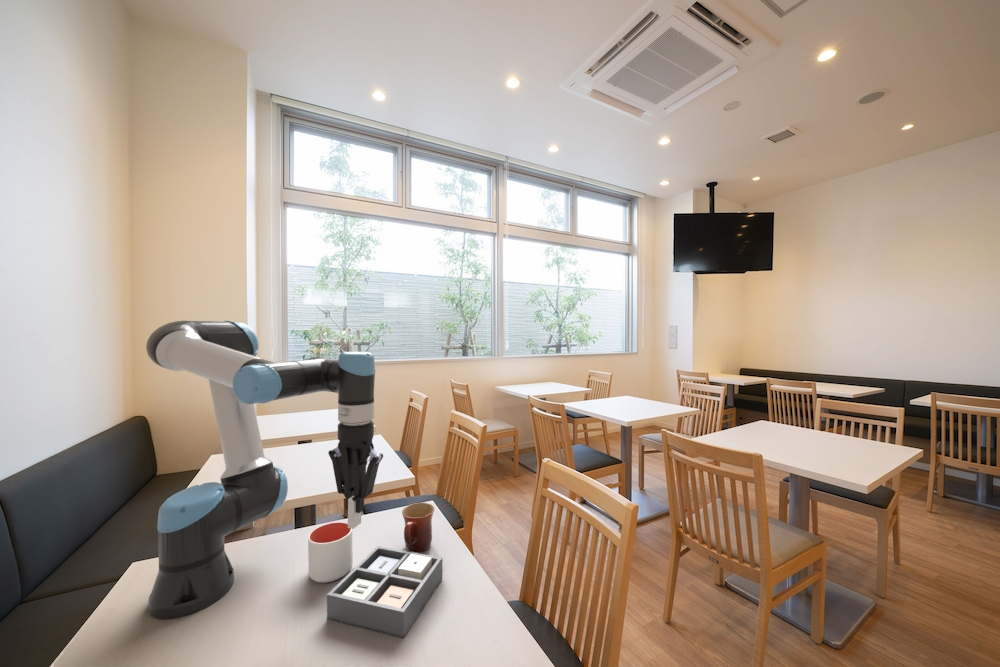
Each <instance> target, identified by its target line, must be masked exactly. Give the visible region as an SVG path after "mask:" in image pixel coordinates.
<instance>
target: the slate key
mask: <svg viewBox="0 0 1000 667" xmlns="http://www.w3.org/2000/svg"><path fill="white" fill-rule="evenodd" d="M399 561H400V560H399V559H393V558H388V557H383V556H379V557H378V558H377V559H376V560H375V561H374V562H373V563H372V564H371V565H370V566H369V567H368V568H367V569H369V570H374V571H379V572H384V573H389V572H390V571H391V570H392V569H393V567H394V566H395V565H396V564H397V563H398V562H399Z"/></svg>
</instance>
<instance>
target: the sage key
mask: <svg viewBox="0 0 1000 667" xmlns="http://www.w3.org/2000/svg"><path fill="white" fill-rule="evenodd" d="M378 584H379V583H378V582H373V581H368V580H363V579H359V578H358V579H357V580H356V581H355V582H354V583H353V584H352V585H351V586H350V587H349V588H348V589H347V590H346V591H345V592H344V593H343V594H342V595H345V596H349V597H354V598H358V599H363V600H365V599H366V598H367V597H368V596H369V595H370V593H371V592H372V591H373V590H374V589H375V588H376V587H377V586H378Z"/></svg>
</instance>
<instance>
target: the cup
mask: <svg viewBox="0 0 1000 667" xmlns="http://www.w3.org/2000/svg"><path fill="white" fill-rule="evenodd" d="M307 538H308V541H307V542H308V544H307V547H308V550H307V552H308V554H307V555H308V576H309V578H310V580H312V581H314V582H316V583H320V584H321V583H322V584H323V583H331V582H334V581H336V580H339V579H342V577H343V578H344V576H346V575H347V574H348V573H349V571H351V569H352V566H353V529H351V528H348V522H341V521H337V522H330V523H325V524H323V525H320V526H318V527H316V528H314V529H313V530H312V531H311V532H310V533H309V534H308V537H307Z"/></svg>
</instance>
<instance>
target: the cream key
mask: <svg viewBox="0 0 1000 667" xmlns="http://www.w3.org/2000/svg"><path fill="white" fill-rule="evenodd" d="M431 568H432V558H430V557H425V556H419V555H414V554H410V555H409V556H408V558H407V559H406V560H405V561H404V562H403V563H402V565H401V566H400V567H399V568H398V575H399V576H404V577H409V578H414V579H419V580H423V579H424V578H425V576H426V575H427V573H428V572H429V571H430V569H431Z"/></svg>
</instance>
